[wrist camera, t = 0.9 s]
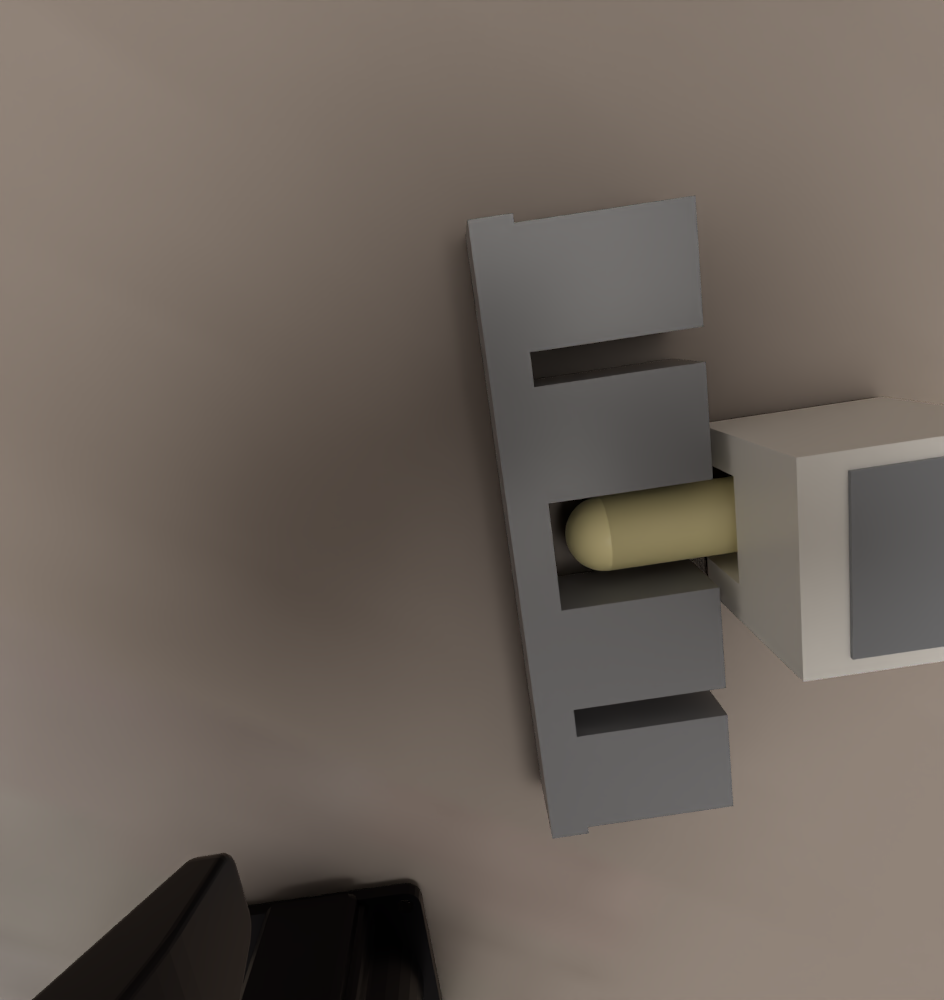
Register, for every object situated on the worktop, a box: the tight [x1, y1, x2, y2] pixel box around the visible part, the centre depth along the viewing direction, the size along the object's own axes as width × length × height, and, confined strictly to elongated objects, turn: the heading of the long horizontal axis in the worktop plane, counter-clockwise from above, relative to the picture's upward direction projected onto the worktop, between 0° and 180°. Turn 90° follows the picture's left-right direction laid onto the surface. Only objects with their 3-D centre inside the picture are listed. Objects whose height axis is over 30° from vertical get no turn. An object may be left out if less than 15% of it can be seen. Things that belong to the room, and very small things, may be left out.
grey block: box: [707, 397, 944, 682], centre depth 16 cm, size 5×5×5 cm
